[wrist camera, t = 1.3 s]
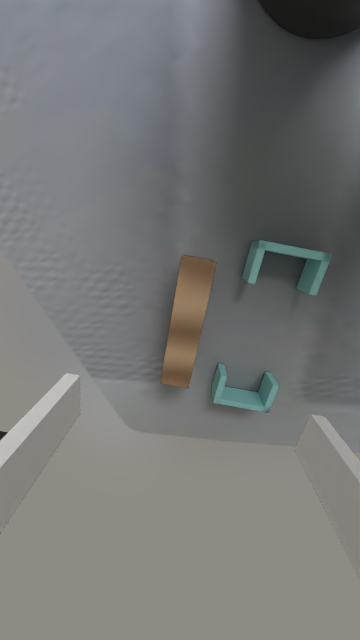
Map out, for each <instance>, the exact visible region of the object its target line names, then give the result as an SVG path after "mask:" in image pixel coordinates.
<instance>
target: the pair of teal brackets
mask: <svg viewBox="0 0 360 640" xmlns="http://www.w3.org/2000/svg"><path fill="white" fill-rule="evenodd" d="M265 251H268V252H273V253H278V254H284V255H289V256H294V257H299V258H305V259H307V261H306V263H305V266H304V269H303V271H302V274H301V277H300V279H299V282H298V285H297V288H296V289H297V290H300V291H302V292H304V293H307V294H310V295H315V296H316V294H317V292H318V290H319V287H320V285H321V282H322V280H323V277H324V275H325V272H326V270H327V267H328V265H329V262H330V260H331V258H332V255H333V254H330V253H325V252H320V251H314V250H309V249H304V248H299V247H293V246H288V245H283V244H278V243H273V242H267V241H262V240H256V241H252V243H251V246H250V250H249V254H248V257H247V261H246V265H245V268H244V272H243V275H242V279H243V280H244V281H246V282H247V283H252V284H255V282H256V279H257V276H258V272H259V269H260V266H261V262H262V259H263V256H264V252H265ZM226 379H227V374H226V370H225V367H224V364H221V363H218V366H217V369H216V373H215V377H214V380H213V384H212V388H211V391H212V398H213V403H217V404H223V405H228V406H234V407H239V408H245V409H250V410H255V411H261V412H266V413H269V410H270V408H271V405H272V403H273V400H274V398H275V395H276V393H277V391H278V388H279V385H278V383H277V382H276V380H275V378H274V377H273V375H272V374H271V373H269V372H265V374H264V377H263V380H262V382H261V385H260V388H259V391H258V392H253V391H247V390H242V389H236V388H231V387H225V382H226Z"/></svg>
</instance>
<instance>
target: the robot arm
mask: <svg viewBox="0 0 360 640" xmlns="http://www.w3.org/2000/svg"><path fill="white" fill-rule="evenodd" d="M260 2H261V3H262V5H263V7H264V8H265V9H266V11H267V12H268V13H269V14H270V16H271V17H272V18H273V19H274V20H275V21H276V22H277V23H278V24H280V25H281V26H282V27H284V28H285V29H287V30H288V31H290V32H292V33H294V34H297V35H300V36H303V37H308V38H329V37H334V36H338V35H341V34H344V33H347V32H349V31H351V30H353V29H355V28H357V27H359V26H360V0H260ZM79 415H80V376H79V375H73V374H67V373H66V374H65V375H64V376H63V377H62V378H61V379H60V380H59V381H58V382H57V383H56V384H55V385H54V387H52V388H51V390H49V392H48V393H47V394H46V395H45V396H44V397H43V398H42V399H41V400H40V401H39V402H38V403H37V404H36V405H35V406H34V407H33V408H32V409H31V410H30V411H29V412H28V413H27V414H26V415H25V416H24V417H23V418H22V419H21V420H20V421H19V422H18V423H17V424H16V425H15V426H14V427H13V428H12V429H11V430H10V431H9V432H2V431H0V534H1V532H2V531H3V529H4V528H5V526H6V525H7V523H8V522H9V520H10V518H11V517H12V515H13V514H14V513H15V511H16V509H17V508H18V506H19V505H20V504H21V502H22V501H23V499H24V498H25V496H26V495H27V493H28V491H29V490H30V489H31V487H32V486H33V484H34V483H35V481H36V479H37V478H38V477H39V475H40V474H41V472H42V470H43V469H44V467H45V466H46V464H47V463H48V461H49V460H50V458H51V457H52V455H53V454H54V452H55V451H56V449H57V448H58V446H59V445H60V443H61V442H62V440H63V439H64V437H65V436H66V434H67V433H68V431H69V430H70V428H71V427H72V425H73V424H74V422H75V421H76V419H77V418H78V416H79ZM295 452H296V454H297V455H298V458H299V460H300V462H301V464H302V466H303V468H304V470H305V472H306V473H307V475H308V478H309V479H310V482H311V484H312V486H313V487H314V490H315V491H316V493H317V495H318V497H319V499H320V501H321V503H322V505H323V507H324V509H325V511H326V513H327V515H328V517H329V519H330V521H331V523H332V525H333V527H334V529H335V531H336V533H337V535H338V537H339V539H340V541H341V543H342V545H343V547H344V549H345V551H346V553H347V555H348V557H349V559H350V561H351V563H352V565H353V567H354V569H355V571H356V573H357V575H358V577H359V579H360V461H359V460H358V459H357V457H356V456H355V455H354V454H353V452H352V451H351V450H350V448H349V447H348V446H347V445H346V443H345V442H344V441H343V439H342V438H341V437H340V436H339V434H338V433H337V432H336V430H335V429H334V428H333V427H332V425H331V424H330V423H329V421H328V420H327V419H326V418H325V417H324V416H318V415H312V414H311V416H310V418H309V420H308V422H307V425H306V427H305V429H304V431H303V433H302V435H301V437H300V439H299V442H298V444H297V446H296V448H295Z"/></svg>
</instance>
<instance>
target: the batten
mask: <svg viewBox="0 0 360 640" xmlns="http://www.w3.org/2000/svg"><path fill="white" fill-rule="evenodd" d="M216 264H217V263H216V262H214V261H213V260H209V259H204V258H198V257H193V256H188V255H183V256H182V257H181V263H180V269H179V275H178V281H177V287H176V293H175V299H174V305H173V311H172V316H171V322H170V328H169V334H168V340H167V346H166V352H165V358H164V364H163V370H162V376H161V381H160V383H163V384H168V385H174V386H179V387H185V388H189V384H190V379H191V375H192V370H193V366H194V361H195V357H196V352H197V348H198V344H199V339H200V335H201V330H202V326H203V321H204V317H205V313H206V308H207V304H208V299H209V295H210V290H211V286H212V282H213V277H214V273H215V268H216Z"/></svg>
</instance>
